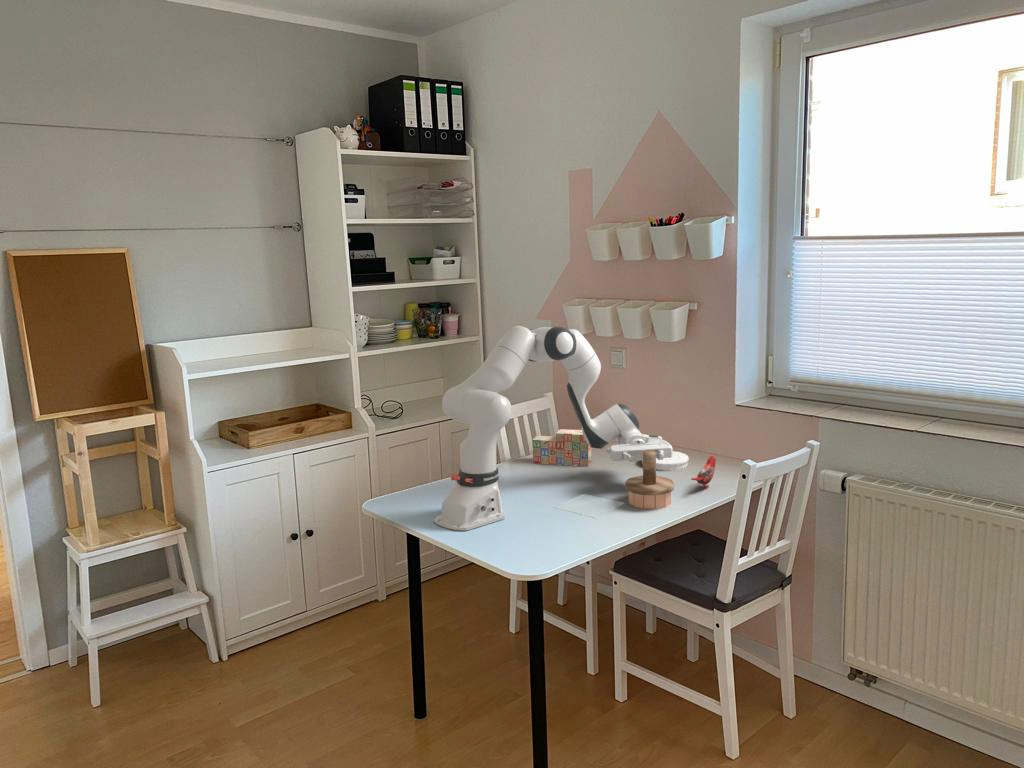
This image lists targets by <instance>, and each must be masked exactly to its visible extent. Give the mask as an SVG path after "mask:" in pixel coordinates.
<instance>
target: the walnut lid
mask: <svg viewBox="0 0 1024 768" xmlns="http://www.w3.org/2000/svg"><path fill="white" fill-rule="evenodd" d="M624 485H625V486H624V487H625V490H627V492H628V491H629V492H632V493H635V494H640V495H662V494H667V493H670V492H671V493H672V492H673V491H674V490H675V482H674V481H673V480H672V479H670V478H668V477H664V476H658V475H657V470H656V451H653V450H646V451H643V465H642V475H638V476H633V477H629V478H628V479H626V480H625V482H624Z"/></svg>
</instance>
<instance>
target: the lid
mask: <svg viewBox="0 0 1024 768" xmlns="http://www.w3.org/2000/svg"><path fill="white" fill-rule="evenodd" d="M689 461H690V457H689V455H688V454H686V453H683V452H681V451H674V450H673V455H672V457H671V458H663V460H658V459H657V458H656V469H658V470H657V471H660V470H672V471H678V470H677V469H679V470H682V469H681V468H683V469H685V468H686V466H688V465H689ZM641 465H642V466H643V459H642V460H641ZM684 467H685V468H684Z"/></svg>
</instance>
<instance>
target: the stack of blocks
mask: <svg viewBox="0 0 1024 768" xmlns="http://www.w3.org/2000/svg"><path fill="white" fill-rule="evenodd" d="M592 450H593V448H592V447H591V446H589V445H588V443H587V442H586V440H585V439H584V436H583V432H582V429H566V428H565V429H564V428H563V429H559V430H558V431H557V432H556V433H555V436H551V435H549V436H548V435H536V436H534V438H532V458H533V459H532V461H533V464H541V465H542V464H543V465H553V464H561V465H560V466H569V465H577V466H576V467H583V466H589V467H590V466H591V464H592V463H593V451H592ZM591 462H592V463H591Z"/></svg>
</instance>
